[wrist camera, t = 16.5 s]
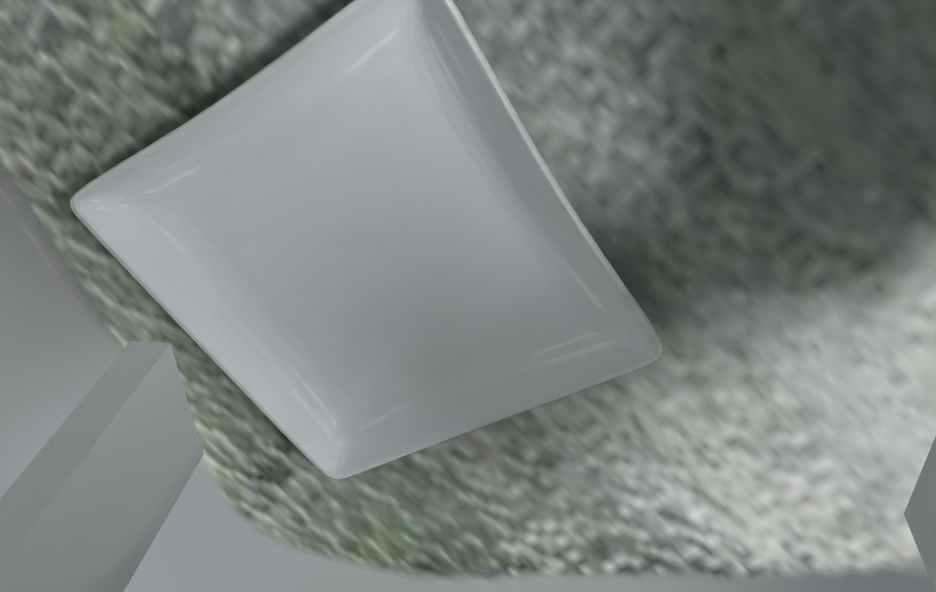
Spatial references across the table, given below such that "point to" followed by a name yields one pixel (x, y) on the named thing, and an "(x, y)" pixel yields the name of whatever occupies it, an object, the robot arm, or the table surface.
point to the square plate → (372, 243)
